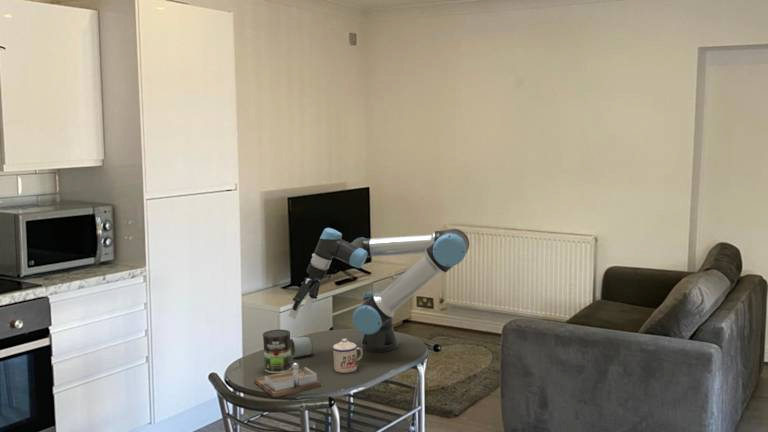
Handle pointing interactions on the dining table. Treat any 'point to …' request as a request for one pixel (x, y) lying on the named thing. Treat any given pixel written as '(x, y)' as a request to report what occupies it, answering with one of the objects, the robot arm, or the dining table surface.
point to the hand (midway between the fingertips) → (298, 314)
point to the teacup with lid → (346, 356)
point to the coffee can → (277, 351)
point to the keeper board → (285, 376)
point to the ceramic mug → (301, 346)
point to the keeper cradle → (292, 380)
